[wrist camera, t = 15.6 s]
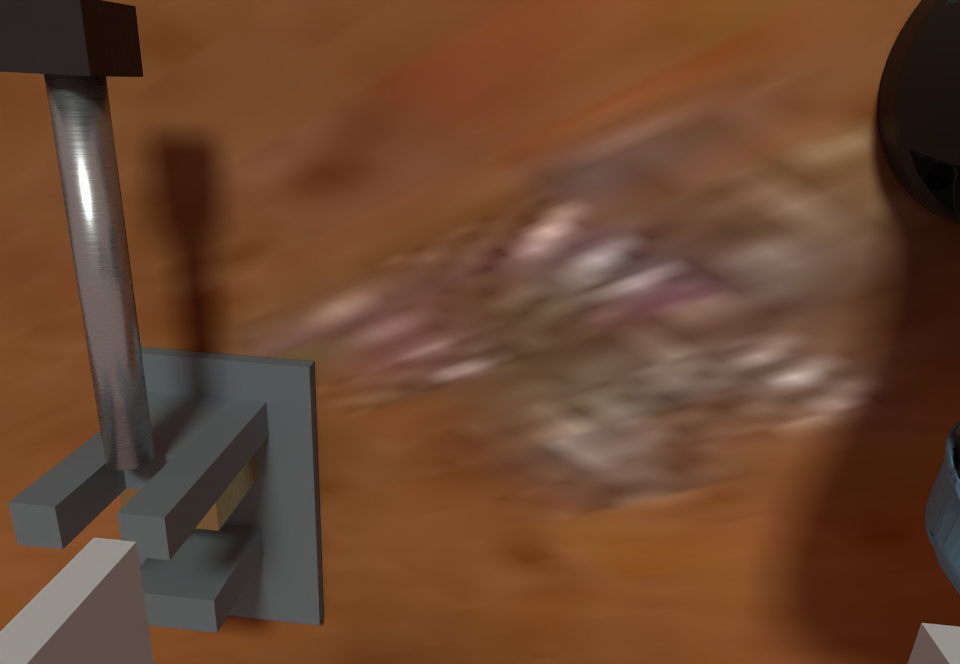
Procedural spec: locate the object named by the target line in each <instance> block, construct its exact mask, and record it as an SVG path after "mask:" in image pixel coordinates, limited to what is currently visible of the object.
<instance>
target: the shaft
mask: <svg viewBox="0 0 960 664" xmlns="http://www.w3.org/2000/svg"><path fill="white" fill-rule="evenodd" d="M0 71H1V72H20V73H39V74H44V78H45V84H46V90H47V97H48V103H49V109H50V116H51V122H52V128H53V135H54V141H55V147H56V154H57V160H58V166H59V173H60V179H61V185H62V191H63V198H64V204H65V210H66V217H67V223H68V229H69V236H70V242H71V248H72V255H73V261H74V267H75V274H76V280H77V286H78V293H79V299H80V305H81V312H82V318H83V324H84V331H85V337H86V343H87V350H88V356H89V362H90V369H91V375H92V381H93V388H94V394H95V400H96V406H97V413H98V419H99V425H100V432H101V438H102V444H103V451H104V457H105V463H106V466H107V467H109V468H111V469H114V470H130V469H135V468H138V467H141V466H144V465H146V464H148V463H149V462H151V461H152V460H153V458H154V456H155V452H154V444H153V436H152V429H151V421H150V413H149V406H148V398H147V390H146V382H145V375H144V367H143V359H142V351H141V344H140V336H139V328H138V321H137V313H136V305H135V297H134V290H133V282H132V274H131V266H130V259H129V251H128V243H127V236H126V228H125V220H124V212H123V205H122V197H121V189H120V182H119V174H118V166H117V158H116V151H115V143H114V135H113V127H112V120H111V112H110V104H109V97H108V89H107V81H106V76H121V77H143V70H142V61H141V53H140V44H139V35H138V26H137V17H136V8H135V6H130V5H125V4H119V3H113V2H108V1H102V0H0Z"/></svg>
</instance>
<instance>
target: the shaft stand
mask: <svg viewBox="0 0 960 664" xmlns="http://www.w3.org/2000/svg"><path fill="white" fill-rule="evenodd" d="M141 351H142V359H143V367H144V375H145V382H146V390H147V398H148V406H149V413H150V421H151V429H152V436H153V444H154V452H155V456H154V458H153V460H152V461H151V462H149V463H148V464H146V465H144V466H141V467H138V468H135V469H130V470H114V469H111V468H109V467H107V466H106V463H105V457H104V451H103V444H102V438H101V432H100V431H99V432H98V433H97V434H96V435H94V436H93V437H92V438H90V439H89V440H88V441H87V442H85V443H84V444H83V445H81V446H80V447H79V448H78V449H76V450H75V451H74V452H72V453H71V454H70V455H69V456H67V457H66V458H65V459H63V460H62V461H61V462H60V463H58V464H57V465H56V466H55V467H53V468H52V469H51V470H49V471H48V472H47V473H46V474H44V475H43V476H42V477H40V478H39V479H38V480H37V481H35V482H34V483H33V484H31V485H30V486H29V487H28V488H26V489H25V490H24V491H22V492H21V493H20V494H19V495H17V496H16V497H15V498H13V499H12V500H11V501H10V502H9V507H10V511H11V516H12V521H13V525H14V530H15V534H16V539H17V544H18V545H27V546H37V547H46V548H56V549H64V548H65V547H66V546H67V545H68V544H69V543H70V542H71V541H72V540H73V539H74V538H75V537H76V536H77V535H78V534H79V533H80V532H81V531H82V530H83V529H84V528H85V527H86V526H87V525H88V524H90V523H91V522H92V521H93V520H94V519H95V518H96V517H97V516H98V515H99V514H100V513H101V512H102V511H103V510H104V509H105V508H106V507H107V506H108V505H109V504H110V503H111V502H112V501H113V500H114V499H115V498H117V497H118V496H119V495H120V494H121V493H122V492H123V491H124V490H125V489H126V488H130V489H140V491H139V492H138V493H137V494H136V495H135V496H134V497H133V498H132V499H131V500H130V501H129V502H128V503H127V504H126V505H125V506H124V507H123V508H122V509H121V510H120V511H119V512H118V513H117V516H118V523H119V529H120V535H121V540H122V541H132V542H136V544H137V551H138V558H139V565H140V571H141V578H142V585H143V592H144V599H145V605H146V612H147V619H148V625H152V626H160V627H169V628H178V629H187V630H196V631H205V632H214V633H218V631H219V629H220V628H221V626H222V624H223V623H224V621H225V619H226V618H227V616H237V617H246V618H255V619H264V620H273V621H282V622H291V623H301V624H310V625H319V626H320V624H321V621H322V619H323V617H324V608H323V582H322V555H321V528H320V501H319V475H318V448H317V421H316V394H315V368H314V361H303V360H291V359H278V358H266V357H254V356H242V355H230V354H217V353H205V352H193V351H181V350H169V349H156V348H144V347H141ZM255 452H256V466H257V479H256V481H255V482H254V483H253V485H252V486H251V488H250V489H249V490H248V492H247V493H246V494H245V496H244V497H243V498H242V500H241V501H240V503H239V504H238V505H237V507H236V508H235V509H234V511H233V512H232V513H231V515H230V516H229V517H228V519H227V520H226V522H225V523H224V524H223V526H222V527H221V528H220V530H219V531H215V530H205V529H195V528H196V527H197V525H198V524H199V523H200V522H201V520H202V519H203V518H204V517H205V515H206V514H207V513H208V512H209V510H210V509H211V508H212V506H213V505H214V504H215V503H216V501H217V500H218V499H219V498H220V496H221V495H222V494H223V493H224V491H225V490H226V489H227V488H228V486H229V485H230V484H231V482H232V481H233V480H234V479H235V477H236V476H237V475H238V474H239V472H240V471H241V470H242V469H243V467H244V466H245V465H246V464H247V462H248V461H249V460H250V458H251V457H252V456H253V455H254V453H255Z"/></svg>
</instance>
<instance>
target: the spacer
mask: <svg viewBox="0 0 960 664" xmlns="http://www.w3.org/2000/svg"><path fill="white" fill-rule="evenodd" d="M256 479H257V466H256V452H255V453H254V455H253V456H252V457H251V458H250V460H249V461H248V462H247V464H246V465H245V466H244V467H243V469H242V470H241V471H240V472H239V474H238V475H237V476H236V477H235V479H234V480H233V481H232V482H231V484H230V485H229V486H228V488H227V489H226V490H225V491H224V493H223V494H222V495H221V496H220V498H219V499H218V500H217V501H216V503H215V504H214V505H213V506H212V508H211V509H210V510H209V512H208V513H207V514H206V515H205V517H204V518H203V519H202V520H201V522H200V523H199V524H198V525H197V527H196V528H195V529H205V530H215V531H219V530H220V528H221V527H222V526H223V524H224V523H225V522H226V520H227V519H228V517H229V516H230V515H231V513H232V512H233V511H234V509H235V508H236V507H237V505H238V504H239V503H240V501H241V500H242V498H243V497H244V496H245V494H246V493H247V492H248V490H249V489H250V488H251V486H252V485H253V483H254V482H255V481H256ZM139 491H140V489H130V488H126V489H125V490H124V491H123V492H122V493H121V494H120V495H121V501H122V508H123V507H124V506H125V505H126V504H127V503H128V502H129V501H130V500H131V499H132V498H133V497H134V496H135V495H136V494H137V493H138V492H139Z"/></svg>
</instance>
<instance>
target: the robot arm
mask: <svg viewBox="0 0 960 664" xmlns="http://www.w3.org/2000/svg"><path fill="white" fill-rule="evenodd" d="M879 128H880V135H881V140H882V145H883V148H884V152H885V155H886V157H887V160H888V163H889V165H890V167H891V169H892V171H893V172H894V174H895V176H896V177H897V179H898V181H899V182H900V183H901V185H902V186H903V187H904V188H905V190H906V191H907V192H908V193H909V194H910V195H911V196H912V197H913V198H914V199H915V200H916V201H917V202H919V203H920V204H921V205H922V206H924V207H925V208H927V209H928V210H930V211H931V212H933V213H935V214H937V215H938V216H940V217H942V218H945V219H947V220H949V221H952V222H955V223H958V224H960V0H922V1H921V2H920V3H919V5H918V6H917V7H916V9H915V10H914V11H913V13H912V14H911V16H910V17H909V19H908V20H907V22H906V24H905V25H904V27H903V29H902V30H901V32H900V34H899V36H898V38H897V40H896V42H895V44H894V47H893V49H892V51H891V54H890V56H889V59H888V62H887V65H886V68H885V72H884V75H883V79H882V84H881V90H880V98H879ZM925 526H926V532H927V534H928V537H929V540H930V542H931V544H932V546H933V548H934V549H935V553H936V559H937V561H938V563H939V565H940V567H941V569H942V570H943V572H944V573H945V575H946V576H947V578H948V579H949V581H950V582H951V584H952V585H953V587H954V588H955V589H956V590H957V592H958V593H959V594H960V421H959V422H957V423H956V425H955V426H954V427H953V429H952V431H951V432H950V434H949V436H948V437H947V440H946V444H945V455H944V460H943V463H942V466H941V468H940V471H939V473H938V475H937V478H936V480H935V482H934V485H933V487H932V489H931V492H930V494H929V497H928V500H927V503H926V509H925ZM0 664H154V660H153V653H152V646H151V639H150V632H149V626H148V619H147V612H146V605H145V599H144V592H143V585H142V578H141V571H140V565H139V558H138V551H137V544H136V542H132V541H122V540H113V539H103V538H93V539H92V540H91V541H90V542H89V543H88V544H87V545H86V546H85V547H84V548H83V549H82V550H81V551H80V552H79V553H78V554H77V555H76V556H75V557H74V558H73V559H72V560H71V561H70V562H69V563H68V564H67V565H66V566H65V567H64V568H63V569H62V570H61V571H60V572H59V573H58V574H57V575H56V576H55V577H54V578H53V579H52V580H51V581H50V582H49V583H48V584H47V585H46V586H45V587H44V588H43V589H42V590H41V591H40V592H39V593H38V594H37V595H36V596H35V597H34V598H33V599H32V600H31V601H30V602H29V603H28V604H27V605H26V606H25V607H24V608H23V609H22V610H21V611H20V612H19V613H18V614H17V615H16V616H15V617H14V618H13V619H12V620H11V621H10V622H9V623H8V624H7V625H6V626H5V627H4V628H3V629H2V630H1V631H0ZM908 664H960V627H958V626H948V625H939V624H929V623H921V625H920V628H919V631H918V634H917V637H916V640H915V643H914V646H913V649H912V652H911V655H910V658H909V661H908Z"/></svg>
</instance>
